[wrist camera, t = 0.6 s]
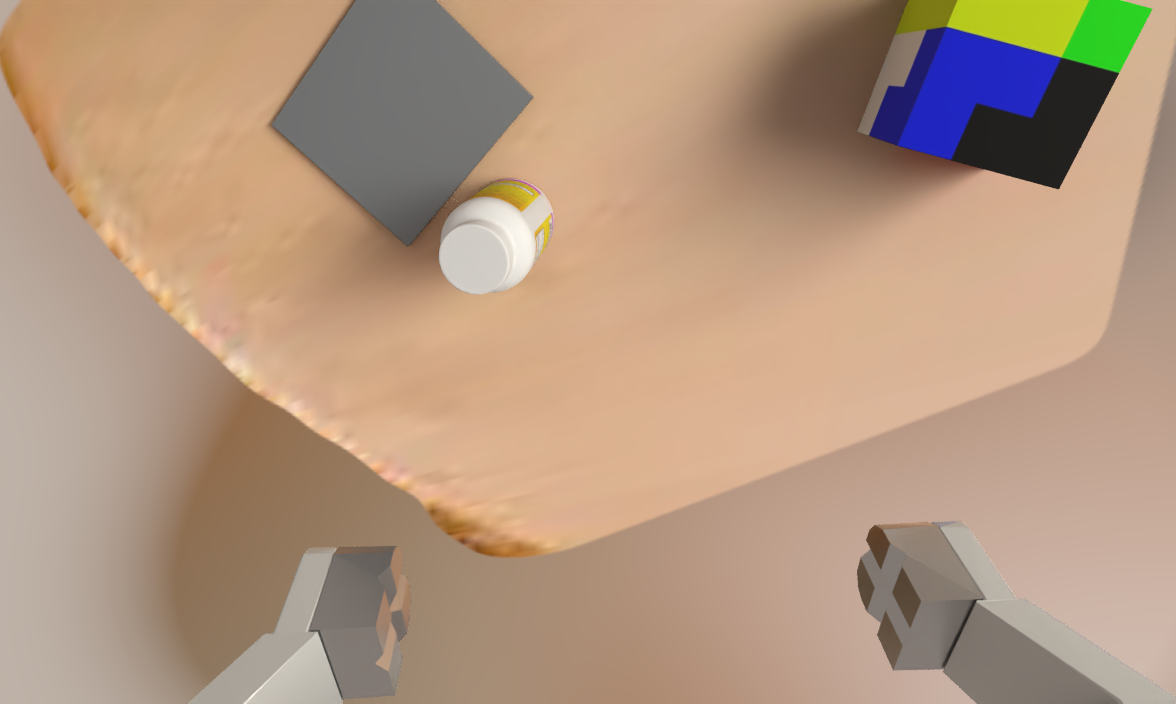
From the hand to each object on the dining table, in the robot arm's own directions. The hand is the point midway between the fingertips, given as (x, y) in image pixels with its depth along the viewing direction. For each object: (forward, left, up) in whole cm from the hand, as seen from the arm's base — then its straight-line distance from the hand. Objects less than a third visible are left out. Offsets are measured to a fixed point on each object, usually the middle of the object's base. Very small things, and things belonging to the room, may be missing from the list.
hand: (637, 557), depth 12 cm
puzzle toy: (-13, +17, -45) cm, 50 cm away
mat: (+2, -21, -45) cm, 50 cm away
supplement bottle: (+7, -10, -45) cm, 47 cm away
